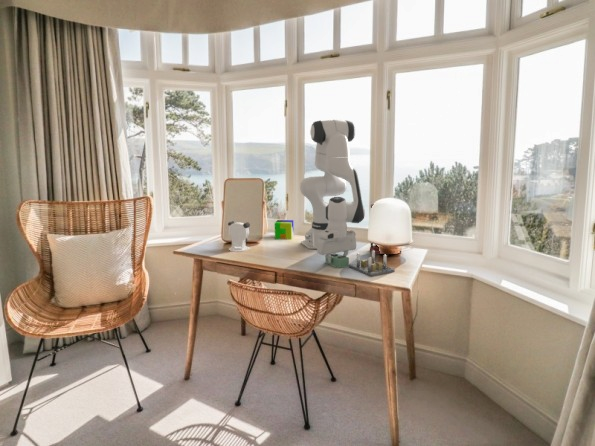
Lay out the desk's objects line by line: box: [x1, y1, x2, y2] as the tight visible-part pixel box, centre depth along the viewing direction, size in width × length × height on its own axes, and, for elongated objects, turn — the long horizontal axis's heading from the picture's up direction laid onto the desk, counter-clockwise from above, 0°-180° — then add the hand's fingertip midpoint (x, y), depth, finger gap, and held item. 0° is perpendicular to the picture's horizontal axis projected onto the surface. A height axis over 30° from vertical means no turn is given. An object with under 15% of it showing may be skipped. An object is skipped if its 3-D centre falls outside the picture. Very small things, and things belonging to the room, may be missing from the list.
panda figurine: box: [227, 221, 251, 253], centre depth 213 cm, size 12×11×15 cm
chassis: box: [348, 251, 395, 277], centre depth 175 cm, size 16×13×7 cm
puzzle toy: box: [274, 219, 295, 240], centre depth 240 cm, size 10×10×10 cm
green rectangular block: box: [324, 253, 350, 269], centre depth 183 cm, size 10×6×5 cm, turn 34°
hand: (337, 261), depth 183 cm, fingers closed on green rectangular block, 6 cm apart
